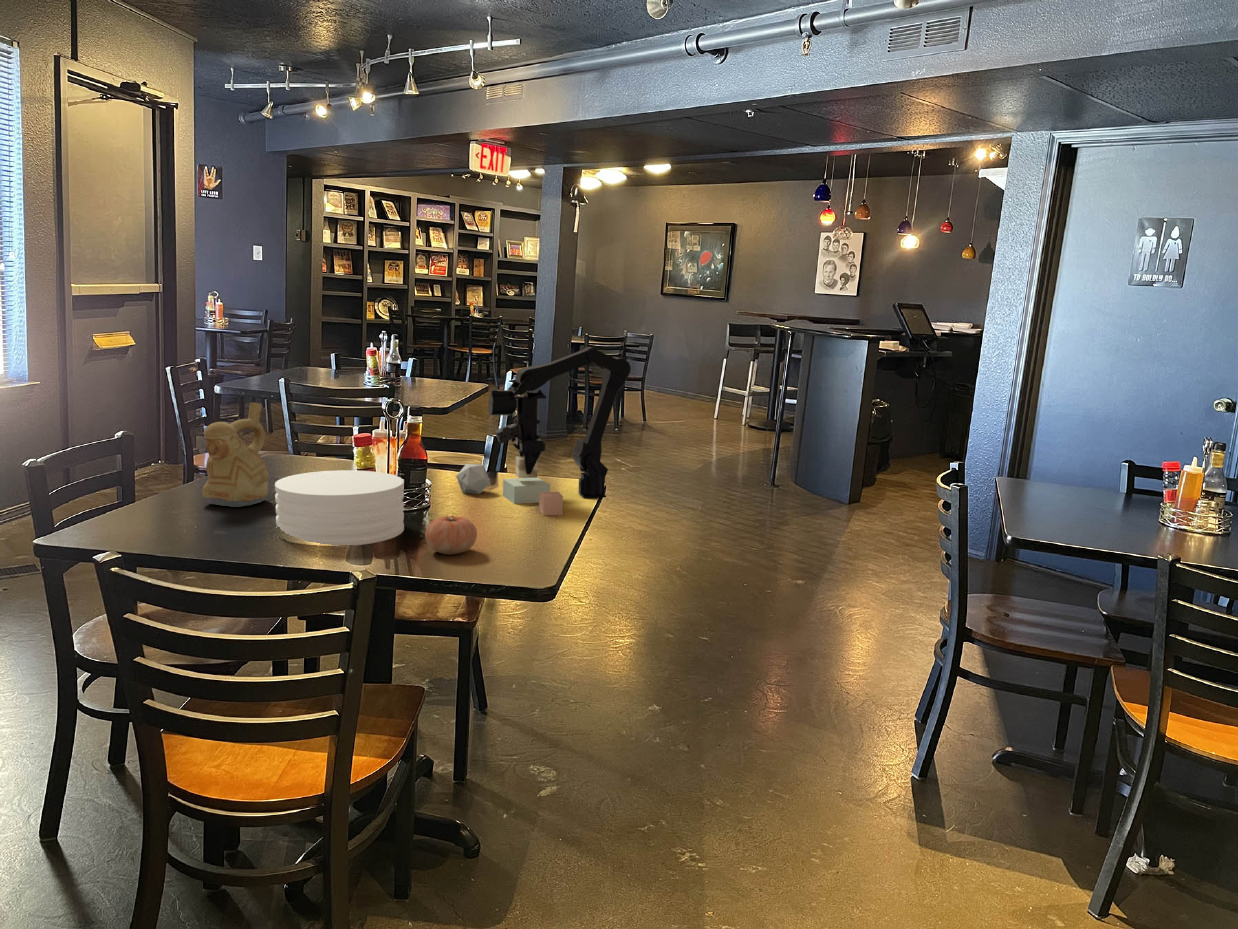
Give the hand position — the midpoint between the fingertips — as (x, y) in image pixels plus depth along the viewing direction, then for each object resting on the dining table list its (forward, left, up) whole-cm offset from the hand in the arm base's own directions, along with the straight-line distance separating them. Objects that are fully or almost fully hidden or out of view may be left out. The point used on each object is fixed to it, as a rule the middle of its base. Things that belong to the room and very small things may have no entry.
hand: (526, 472), depth 248 cm
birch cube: (0, 0, -1) cm, 1 cm away
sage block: (0, 0, -8) cm, 8 cm away
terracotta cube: (-3, +17, -7) cm, 19 cm away
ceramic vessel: (+73, -5, -8) cm, 73 cm away
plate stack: (+48, +26, -8) cm, 56 cm away
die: (+13, -10, -8) cm, 18 cm away
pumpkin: (+26, +49, -8) cm, 56 cm away
